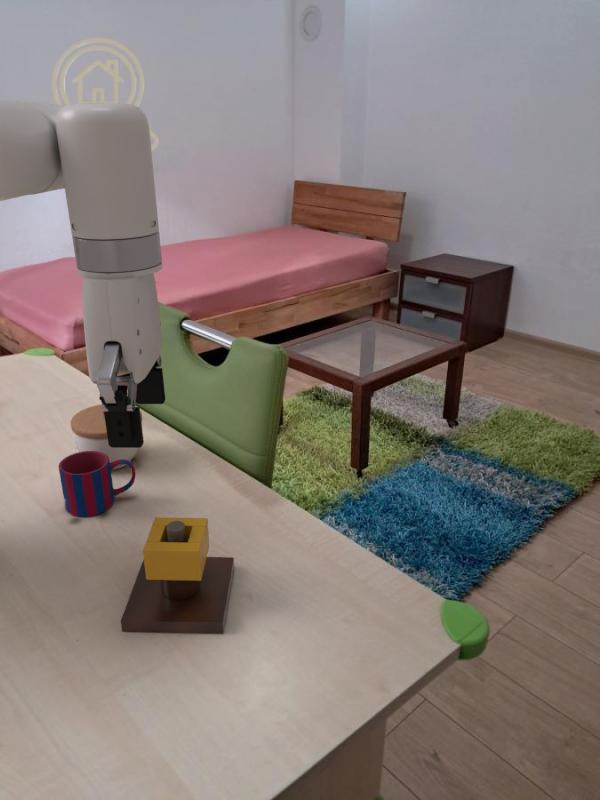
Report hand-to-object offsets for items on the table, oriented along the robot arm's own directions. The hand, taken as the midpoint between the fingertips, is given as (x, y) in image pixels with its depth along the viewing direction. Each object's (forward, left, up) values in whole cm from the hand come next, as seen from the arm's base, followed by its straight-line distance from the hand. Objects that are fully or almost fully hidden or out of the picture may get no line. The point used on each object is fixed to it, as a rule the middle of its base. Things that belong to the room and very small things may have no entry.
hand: (139, 423), depth 64 cm
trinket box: (-14, +31, -23) cm, 41 cm away
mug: (-12, +19, -23) cm, 32 cm away
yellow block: (+3, 0, -18) cm, 18 cm away
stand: (+3, 0, -22) cm, 23 cm away
